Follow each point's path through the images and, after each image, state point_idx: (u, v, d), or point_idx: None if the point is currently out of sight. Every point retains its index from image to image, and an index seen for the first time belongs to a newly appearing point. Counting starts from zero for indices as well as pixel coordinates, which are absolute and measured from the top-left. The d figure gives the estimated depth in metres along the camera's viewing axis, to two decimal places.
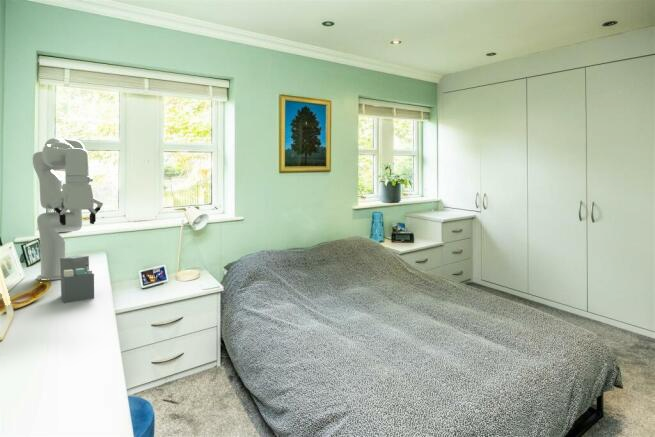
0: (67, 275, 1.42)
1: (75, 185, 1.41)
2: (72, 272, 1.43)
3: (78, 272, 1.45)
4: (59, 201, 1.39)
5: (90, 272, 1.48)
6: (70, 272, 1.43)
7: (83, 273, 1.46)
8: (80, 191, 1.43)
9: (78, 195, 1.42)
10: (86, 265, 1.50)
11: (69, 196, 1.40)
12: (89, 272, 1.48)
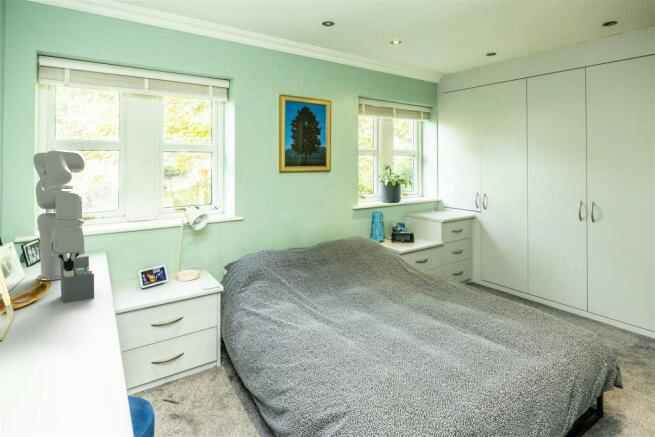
0: (67, 275, 1.42)
1: (65, 229, 1.40)
2: (72, 272, 1.43)
3: (78, 272, 1.45)
4: None
5: (90, 272, 1.48)
6: (70, 272, 1.43)
7: (83, 273, 1.46)
8: (70, 235, 1.41)
9: (68, 238, 1.41)
10: (86, 265, 1.49)
11: (59, 241, 1.39)
12: (89, 272, 1.48)
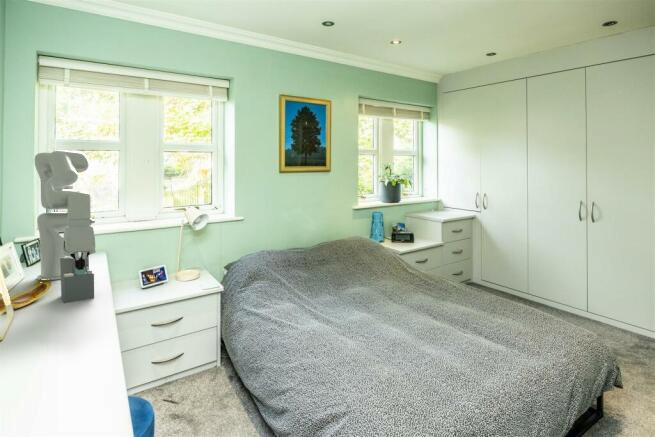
0: None
1: (77, 228, 1.42)
2: None
3: (78, 272, 1.45)
4: None
5: (90, 272, 1.48)
6: (70, 276, 1.43)
7: (83, 273, 1.46)
8: (82, 234, 1.44)
9: (80, 238, 1.43)
10: (86, 265, 1.49)
11: (71, 240, 1.42)
12: (89, 272, 1.48)
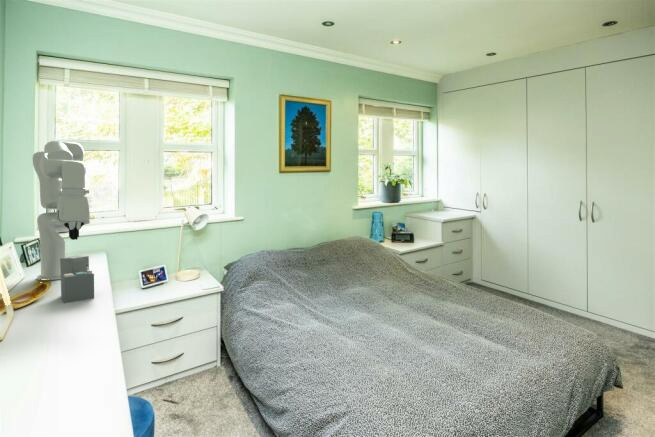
0: None
1: (71, 198, 1.41)
2: None
3: None
4: None
5: (90, 272, 1.48)
6: (70, 276, 1.43)
7: None
8: (76, 204, 1.43)
9: (74, 207, 1.42)
10: (86, 265, 1.49)
11: (65, 209, 1.40)
12: (89, 272, 1.48)
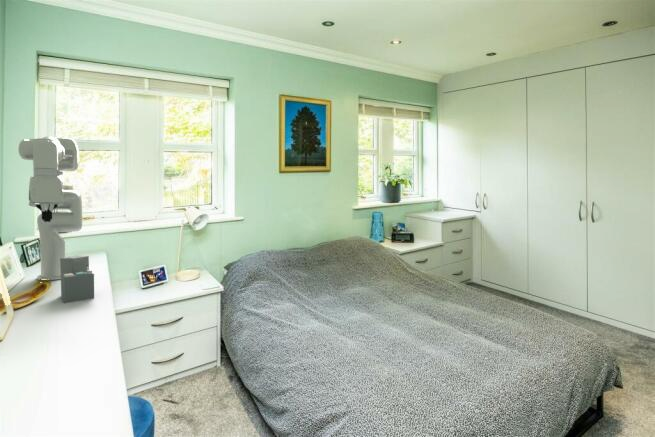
0: None
1: (43, 178, 1.38)
2: None
3: None
4: None
5: (90, 272, 1.48)
6: (70, 276, 1.43)
7: None
8: (48, 185, 1.39)
9: (46, 188, 1.39)
10: (86, 265, 1.49)
11: (36, 190, 1.37)
12: (89, 272, 1.48)
